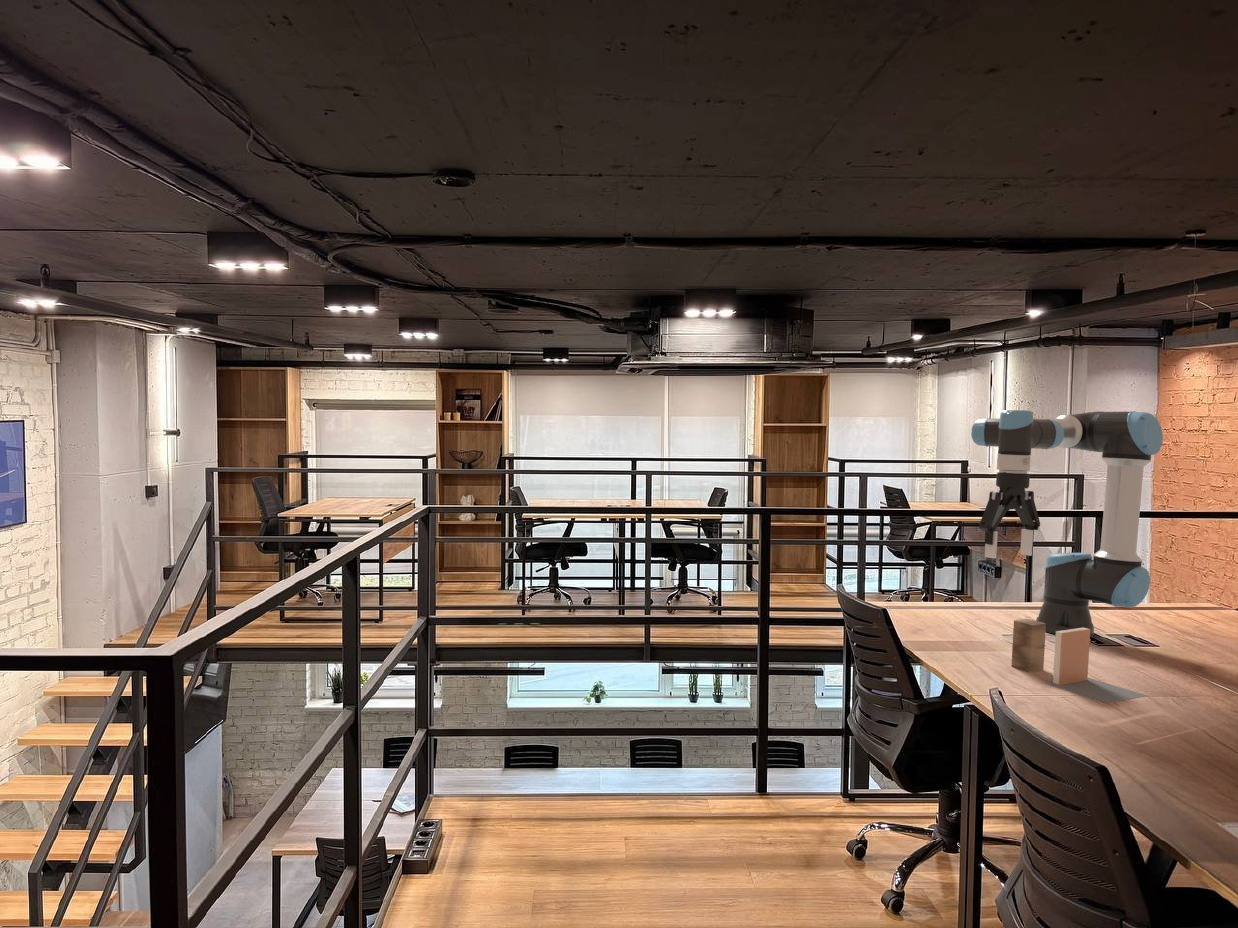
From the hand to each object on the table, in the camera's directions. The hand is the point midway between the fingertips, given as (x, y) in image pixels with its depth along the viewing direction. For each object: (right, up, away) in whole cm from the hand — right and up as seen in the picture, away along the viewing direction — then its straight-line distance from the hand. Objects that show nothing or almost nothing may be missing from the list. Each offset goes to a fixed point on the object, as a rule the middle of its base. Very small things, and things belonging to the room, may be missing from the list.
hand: (1008, 556), depth 206 cm
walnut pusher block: (+2, -27, -6) cm, 28 cm away
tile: (+7, -27, -16) cm, 32 cm away
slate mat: (+10, -28, -21) cm, 36 cm away
